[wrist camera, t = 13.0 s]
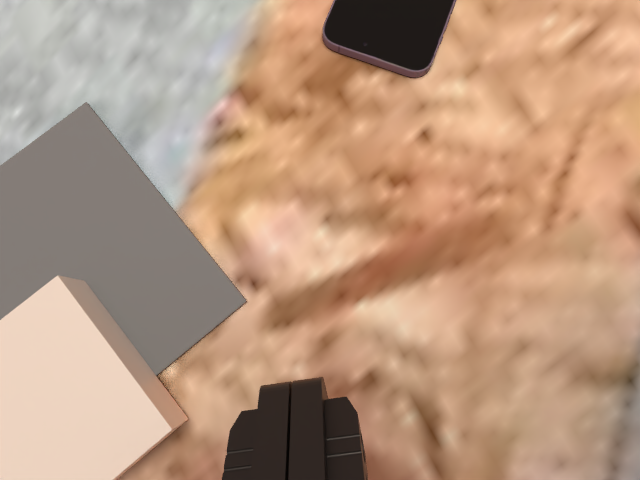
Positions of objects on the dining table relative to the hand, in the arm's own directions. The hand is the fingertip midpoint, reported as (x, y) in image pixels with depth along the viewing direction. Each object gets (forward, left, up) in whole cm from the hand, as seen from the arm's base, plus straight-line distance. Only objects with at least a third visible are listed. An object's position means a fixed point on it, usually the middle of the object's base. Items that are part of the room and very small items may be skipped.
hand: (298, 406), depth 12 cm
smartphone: (+15, -21, -17) cm, 31 cm away
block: (+2, +12, -15) cm, 19 cm away
